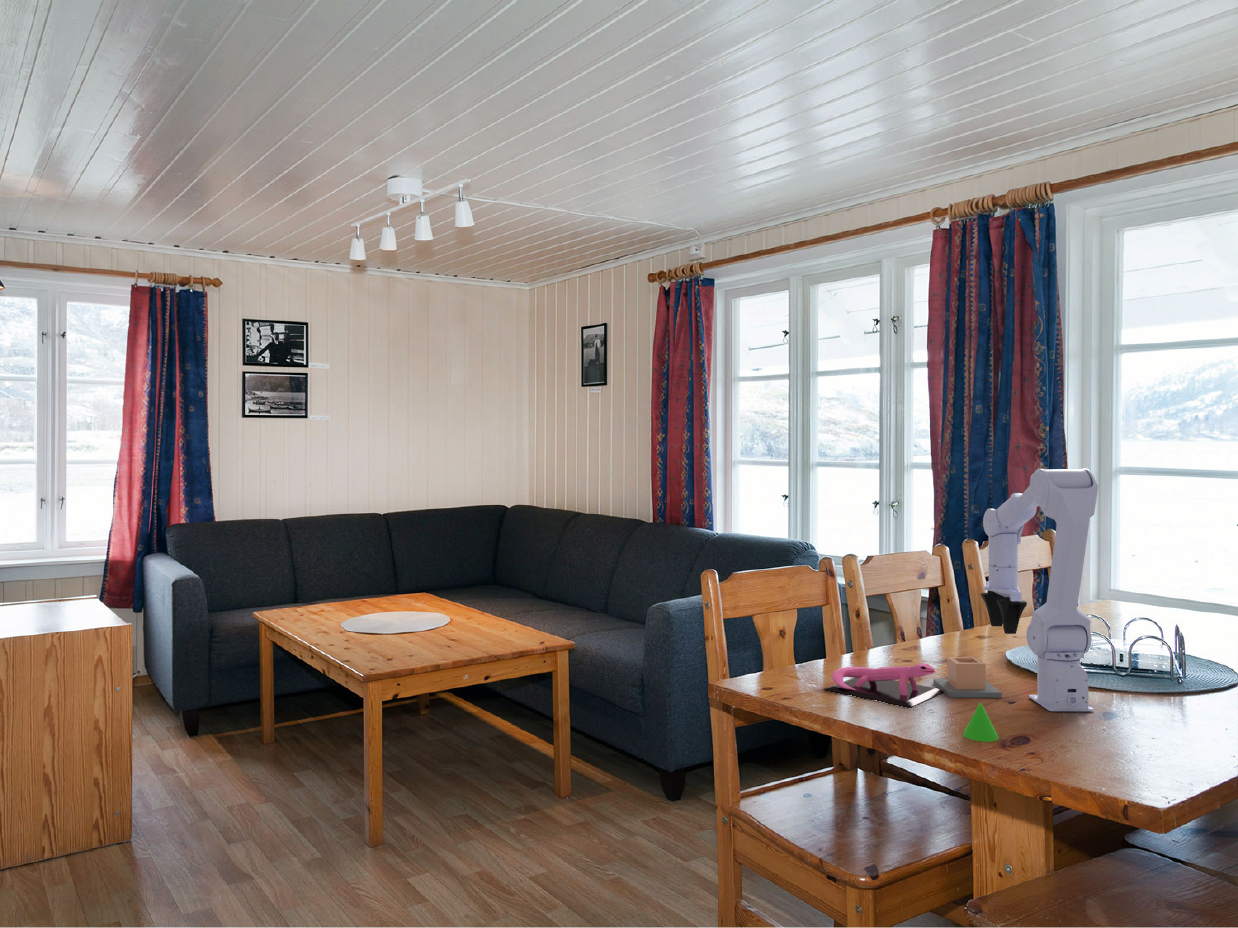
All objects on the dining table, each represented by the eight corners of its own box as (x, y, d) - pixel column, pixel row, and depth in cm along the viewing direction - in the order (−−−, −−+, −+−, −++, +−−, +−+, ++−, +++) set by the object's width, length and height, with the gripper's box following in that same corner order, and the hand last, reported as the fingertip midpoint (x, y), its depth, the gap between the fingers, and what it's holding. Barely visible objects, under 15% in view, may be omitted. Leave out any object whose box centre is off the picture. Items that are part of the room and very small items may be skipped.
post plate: (1001, 697, 173) (1001, 671, 173) (948, 697, 174) (948, 671, 174) (983, 683, 183) (983, 659, 183) (933, 683, 184) (933, 659, 184)
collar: (985, 689, 175) (985, 663, 175) (956, 689, 176) (956, 663, 176) (975, 681, 181) (975, 657, 181) (947, 681, 181) (947, 656, 181)
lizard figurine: (917, 713, 166) (917, 673, 166) (822, 693, 180) (822, 656, 180) (952, 697, 176) (951, 659, 176) (859, 679, 190) (859, 644, 190)
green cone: (955, 737, 151) (955, 701, 151) (970, 729, 155) (970, 694, 155) (990, 745, 146) (990, 708, 146) (1006, 736, 151) (1006, 701, 151)
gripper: (972, 561, 198) (972, 622, 198) (996, 570, 183) (996, 636, 184) (1004, 561, 197) (1004, 622, 198) (1031, 570, 183) (1032, 636, 183)
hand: (1003, 629), depth 191 cm, fingers open, 7 cm apart
